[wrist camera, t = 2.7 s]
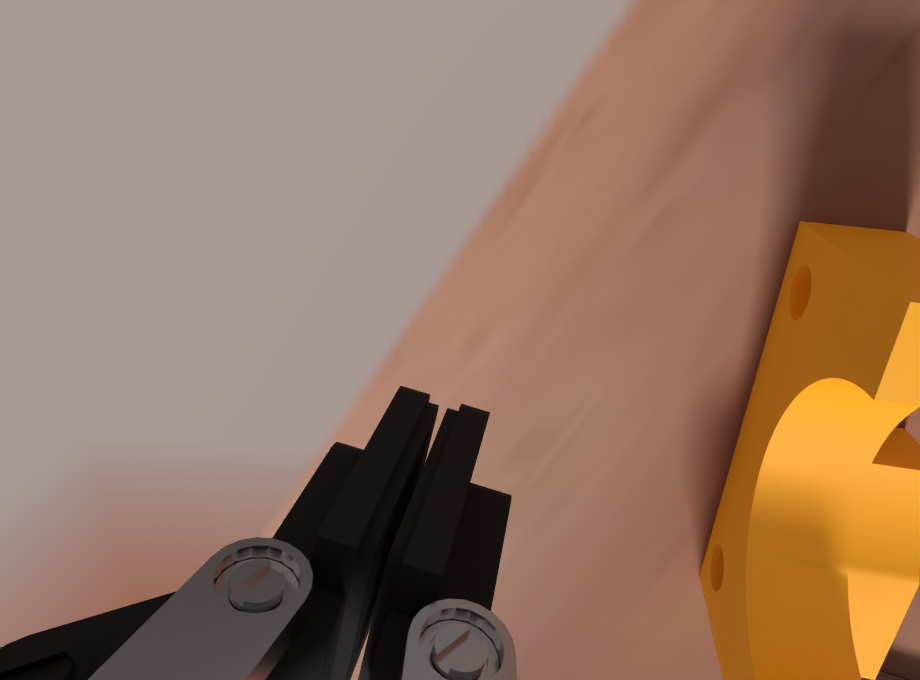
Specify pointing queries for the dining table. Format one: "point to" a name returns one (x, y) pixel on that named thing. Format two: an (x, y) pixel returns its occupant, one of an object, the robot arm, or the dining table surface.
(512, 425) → the dining table surface
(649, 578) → the dining table surface
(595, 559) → the dining table surface
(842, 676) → the pipe clamp
